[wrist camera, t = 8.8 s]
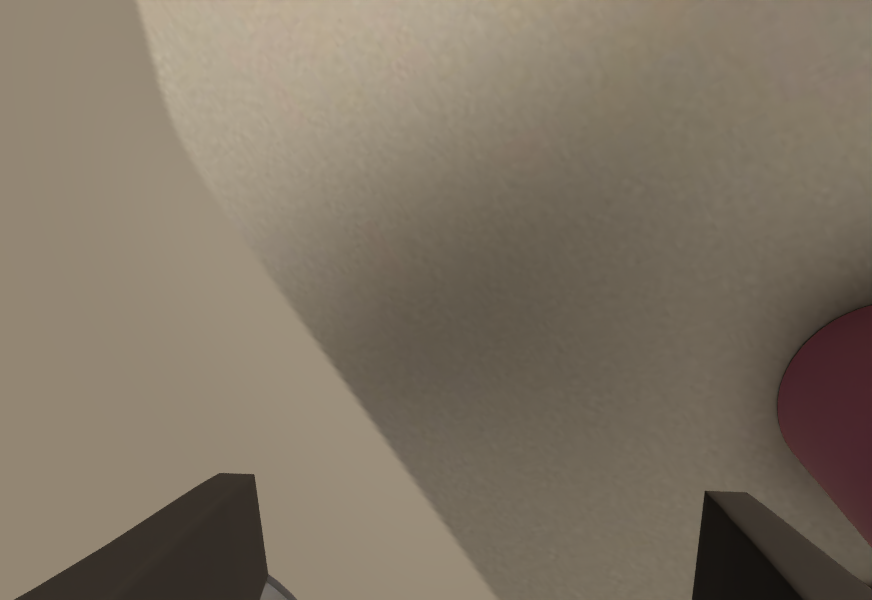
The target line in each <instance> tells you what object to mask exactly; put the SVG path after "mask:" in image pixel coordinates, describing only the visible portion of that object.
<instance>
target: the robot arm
mask: <svg viewBox="0 0 872 600" xmlns="http://www.w3.org/2000/svg"><path fill="white" fill-rule="evenodd" d="M267 577H268V570H267V563H266V556H265V549H264V542H263V535H262V527H261V520H260V512H259V505H258V498H257V490H256V484H255V477H254V474H229V473H228V474H227V473H219V474H217V475H216V476H214V477H212V478H210V479H208V480H207V481H205V482H203V483H202V484H200V485H198V486H197V487H195V488H193V489H192V490H191V491H189V492H187V493H186V494H184V495H182V496H181V497H179V498H178V499H176V500H175V501H173V502H172V503H170V504H169V505H167V506H166V507H164V508H163V509H161V510H159V511H158V512H156V513H155V514H153V515H152V516H150V517H149V518H147V519H146V520H144V521H143V522H141V523H139V524H138V525H136V526H135V527H134V528H132V529H130V530H129V531H127V532H126V533H124V534H123V535H121V536H120V537H118V538H116V539H115V540H113V541H112V542H110V543H109V544H107V545H105V546H104V547H102V548H101V549H99V550H98V551H96V552H94V553H92V554H91V555H89V556H87V557H86V558H84V559H82V560H81V561H79V562H77V563H76V564H74V565H72V566H71V567H69V568H68V569H66V570H64V571H62V572H61V573H59V574H58V575H56V576H54V577H52V578H51V579H49V580H47V581H46V582H44V583H42V584H41V585H39V586H38V587H36V588H34V589H32V590H31V591H29V592H27V593H25V594H24V595H22V596H20V597H18V598H16V599H15V600H260V598H261V595H262V592H263V589H264V586H265V583H266V580H267ZM692 600H872V589H871V588H870V587H868V586H867V585H866V584H864V583H863V582H862V581H860V580H859V579H858V578H856V577H855V576H854V575H852V574H851V573H850V572H849V571H847V570H846V569H845V568H843V567H842V566H841V565H839V564H838V563H837V562H836V561H834V560H833V559H832V558H830V557H829V556H828V555H827V554H825V553H824V552H823V551H822V550H820V549H819V548H818V547H816V546H815V545H814V544H813V543H811V542H810V541H809V540H808V539H806V538H805V537H804V536H803V535H801V534H800V533H799V532H798V531H796V530H795V529H794V528H793V527H791V526H790V525H789V524H787V523H786V522H785V521H784V520H782V519H781V518H780V517H779V516H777V515H776V514H775V513H774V512H772V511H771V510H770V509H768V508H767V507H766V506H765V505H763V504H762V503H761V502H759V501H758V500H757V499H755V498H754V497H752V496H751V495H750V494H748V493H747V492H720V491H705V494H704V503H703V511H702V520H701V528H700V536H699V545H698V553H697V562H696V570H695V578H694V587H693V595H692Z"/></svg>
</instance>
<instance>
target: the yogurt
mask: <svg viewBox="0 0 872 600" xmlns="http://www.w3.org/2000/svg"><path fill="white" fill-rule="evenodd" d="M777 410H778V421H779V425H780V429H781V432H782V434H783V437H784V439H785V442H786V443H787V445H788V446H789V448H790V450H791V451H792V452H793V454H794V455H795V456H796V457H797V458H798V460H799V461H800V462H801V463H802V464H803V466H804V467H805V468H806V469H807V470H808V472H809V473H810V474H811V475H812V476H813V478H814V479H815V480H816V481H817V482H818V484H819V485H820V486H821V487H822V488H823V490H824V491H825V492H826V493H827V494H828V496H829V497H830V498H831V499H832V500H833V502H834V503H835V504H836V505H837V506H838V508H839V509H840V510H841V511H842V512H843V514H844V515H845V516H846V517H847V518H848V520H849V521H850V522H851V523H852V524H853V526H854V527H855V528H856V529H857V530H858V532H859V533H860V534H861V535H862V536H863V538H864V539H865V540H866V541H867V542H868V544H869V545H870V546H871V547H872V305H870V306H867V307H863V308H860V309H858V310H855V311H853V312H850V313H848V314H845V315H844V316H842V317H840V318H838V319H836V320H834V321H832V322H831V323H829V324H828V325H826V326H825V327H824V328H822V329H821V330H819V331H818V332H817V333H816V334H815V335H814V336H812V337H811V338H810V339H809V340H808V341H807V342H806V343H805V344H804V345H803V347H802V348H801V349H800V350H799V351H798V353H797V354H796V355H795V357H794V358H793V359H792V361H791V363H790V365H789V367H788V368H787V370H786V372H785V375H784V377H783V380H782V382H781V386H780V390H779V395H778V406H777Z"/></svg>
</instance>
